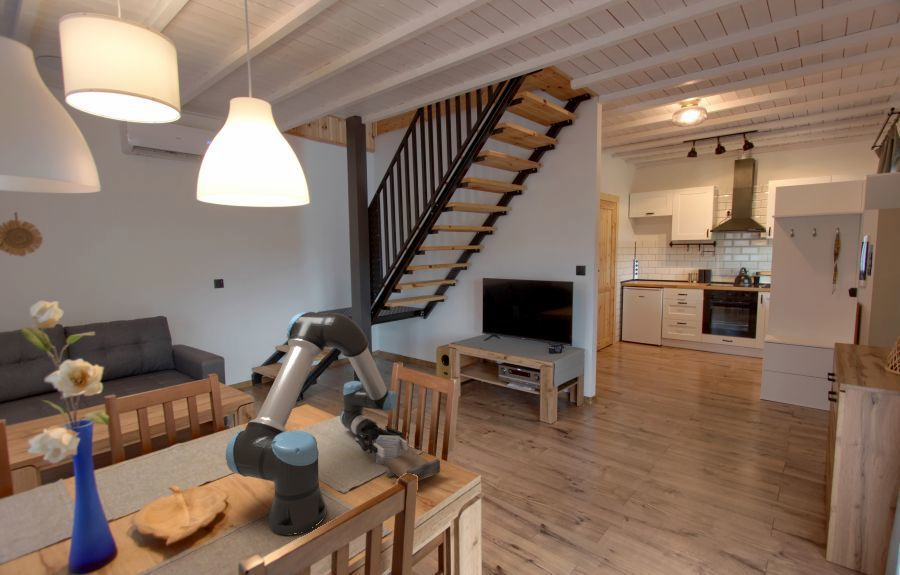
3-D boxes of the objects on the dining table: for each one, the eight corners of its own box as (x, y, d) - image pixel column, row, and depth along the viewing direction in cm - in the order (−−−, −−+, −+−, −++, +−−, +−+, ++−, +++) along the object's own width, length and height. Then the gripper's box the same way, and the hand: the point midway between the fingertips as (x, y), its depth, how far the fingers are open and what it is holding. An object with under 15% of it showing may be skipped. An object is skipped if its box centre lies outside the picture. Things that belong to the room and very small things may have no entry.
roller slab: (407, 493, 131) (407, 473, 130) (381, 472, 143) (381, 453, 143) (441, 478, 139) (441, 459, 138) (414, 460, 151) (413, 442, 151)
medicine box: (400, 458, 152) (400, 435, 152) (398, 464, 148) (397, 440, 147) (379, 457, 153) (378, 434, 152) (376, 463, 149) (375, 440, 148)
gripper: (388, 430, 171) (420, 451, 153) (339, 445, 158) (367, 470, 140) (388, 412, 170) (420, 430, 153) (338, 426, 157) (367, 448, 139)
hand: (395, 449), depth 146 cm, fingers closed on medicine box, 8 cm apart
